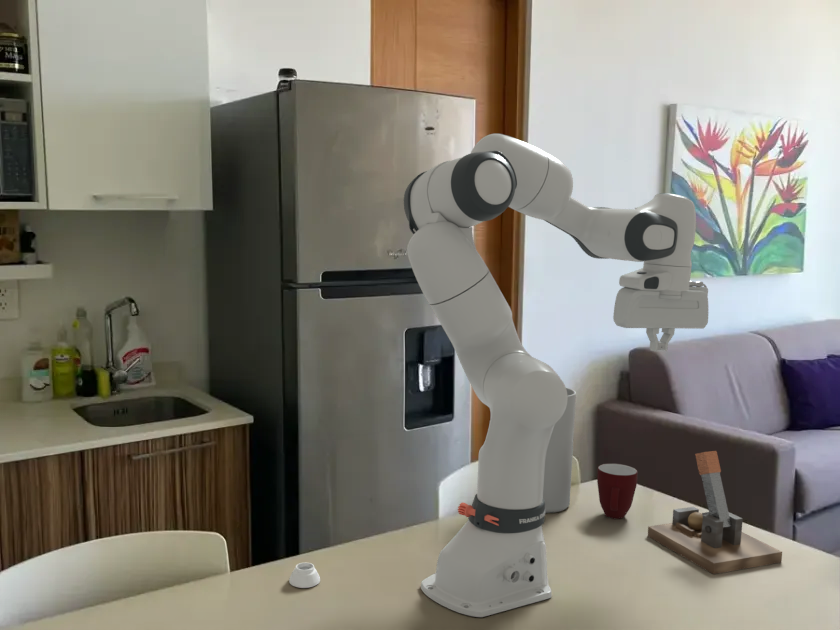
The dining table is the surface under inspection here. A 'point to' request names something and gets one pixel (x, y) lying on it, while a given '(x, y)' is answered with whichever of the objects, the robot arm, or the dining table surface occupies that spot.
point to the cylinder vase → (560, 460)
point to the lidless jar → (304, 576)
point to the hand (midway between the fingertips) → (658, 350)
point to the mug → (616, 488)
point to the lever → (713, 486)
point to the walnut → (695, 521)
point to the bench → (712, 555)
